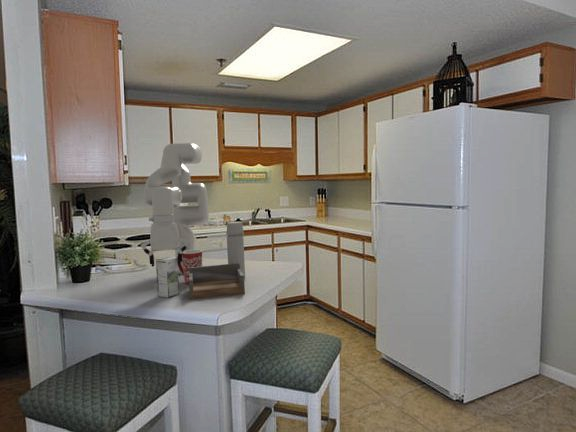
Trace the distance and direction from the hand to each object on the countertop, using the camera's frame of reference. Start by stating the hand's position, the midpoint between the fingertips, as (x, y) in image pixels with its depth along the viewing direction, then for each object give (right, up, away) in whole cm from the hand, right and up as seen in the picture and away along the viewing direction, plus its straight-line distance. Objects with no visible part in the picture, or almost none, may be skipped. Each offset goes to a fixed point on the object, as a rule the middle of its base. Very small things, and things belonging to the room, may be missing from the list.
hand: (166, 264), depth 148 cm
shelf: (+18, -11, +4) cm, 22 cm away
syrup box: (0, -12, +2) cm, 12 cm away
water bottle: (+24, -9, +22) cm, 34 cm away
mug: (+4, -10, +21) cm, 24 cm away
